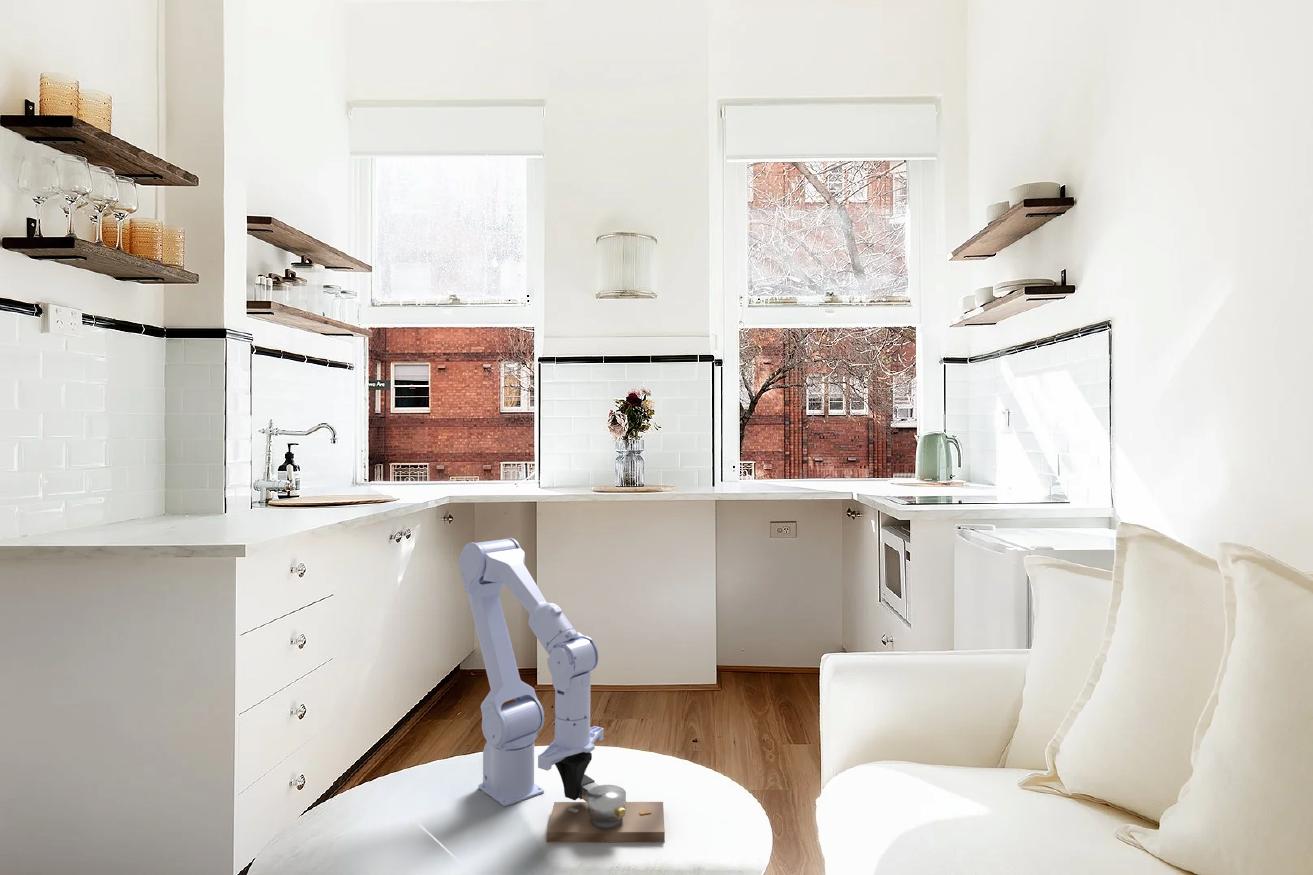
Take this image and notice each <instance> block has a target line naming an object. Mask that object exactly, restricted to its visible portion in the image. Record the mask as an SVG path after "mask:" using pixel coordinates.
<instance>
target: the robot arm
mask: <svg viewBox="0 0 1313 875" xmlns="http://www.w3.org/2000/svg"><path fill="white" fill-rule="evenodd" d="M525 553H526V552H525V551H524V550H523V549H522V548H521V546H520V544H519V542H518V541H517V540H516V539H515V538H512V537H506V538H503V539H496V540H489V541H482V542H468V543H466V544H465V545H464V546H463V548H462V551H461V553H460V556H459V558H458V563H457V564H458V567H459V571H460V575H461V579H462V583H463V587H464V591H465V593H467V598H468V603H469V606H470V611H471V614H472V619H473V623H474V626H475V630H476V635H477V639H478V643H479V646H480V651H481V655H482V659H483V663H484V668H485V671H486V676H487V679H488V684H489V687H490V688H489V689H490V690H489V692H488V694H487V695H486V696H485V698H484V700H483V701H482V702H481V704H480V710H481V718H482V719H481V720H482V721H481V730H482V735H483V736H484V739H485V740H486V742H485V744H484V747H483V750H482V783H481V782H480V783H479V784H478V786H477V788H478V789H480V790H481V791H482V792H483V793H485V794H487V795H488V796H489V797H490V798H492V799H493V800H494V801H496V802H497V803H499V804H500V805H502V806H503V807H509V806H511V805H514V804H516V803H520V802H522V801H525V800H528V799H530V798H533V797H537V796H539V795H541V794H543V793H544V792H545V789H544V788H542V787H541V786H540V785H538V784H536V783H535V740H536V739H538V735H539V734H538V732H540V731H541V729H542V728H543V726H544V725H545V711H544V707H543V706H542V703H541V702H540V701H539V699H538V696H537V694H536V691H535V688H534V687H532V686H531V685H529V684H528V683H526V682H524V681H522V679H521V677H520V672H519V668H518V665H517V661H516V658H515V657H516V656H515V652H514V649H513V645H512V640H511V637H510V632H509V629H508V626H507V622H506V621H507V620H506V618H505V614H504V610H503V607H502V606H503V605H502V603H501V602H502V601H501V599H500V594H501V591H502V589H503V588H504V587H505V586H506V587H507V588H508V589H509V591H510V593H512V594H513V596H514V597H515V598H516V600H518V602H519V603H520V605H521V606H522V607H523V608H524V609H525V610H526V612H527V613H528V614H529V618H528V624H527V625H528V626H529V628H530V629H531V631H532V632H533V634H534V635H535V637H536V638H537V640H538V642H539V643H540V644H541V646H542V648H544V651H546V653H547V655H548V656H549V657H547V659H546V660H547V663H546V664H547V668H548V670H549V672H550V674H551V678H552V679H551V681H552V682H551V684H552V685H553V686H552V688H553V689H554V739H553V741H552V742H551V743H550V744H549V745H548V747H547V748H546V749H545V750H544V751H543V752H541V753H540V754H538V755H537V768H538V769H541V770H544V771H546V772H547V771H550V770H551V769H552V766H554V765H555V767H556V769H557V770H558V771H557V772H558V773H559V776H560V778H561V781H562V786H563V791H564V792H563V793H564V797H565V798H567V799H569V800H573V801H576V800H579V798H578V797H579V792H580V787H581V783H582V779H583V776H584V774H586V771H587V768H588V766H589V765H590V763H591V761H592V759H593V755H592V751H594V750H595V749H596V748H595V747H596V746H595V744H594V743H595V742H602V741H603V740H604V735H605V734H604V730H605V729H604V728H603V727H600V726H597V725H596V726H595V725H594V726H592V727H591V687H592V686H591V678H592V676H591V674H592V673H591V671H594V670H595V669H596V668H597V667H598V666H597V665H598V663H599V651H598V648H597V646H596V643H594V640H593V639H592V638H591V637H590V636H587V635H583V634H582V633H581V632H579V631H576V629H575V628H574V626H573V625H572V624H571V622H570V621H569V619H568V618H567V617H566V615H565V614H564V613H563V610H562V608H561V607H560V606H559V605H558V604H556V603H552V602H547V601H546V599H545V597H544V596H543V594H542V592H541V590H540V588H539V587H538V585H537V583H536V581H535V580H534V579H533V576H532V575H531V574H530V572H529V570H528V568H527V567H526V564H525V563H526V562H525V560H526V554H525ZM512 700H514V701H513V702H509V701H512ZM506 702H509V703H507V704H504V703H506ZM503 704H504V705H503Z"/></svg>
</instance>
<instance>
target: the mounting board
mask: <svg viewBox="0 0 1313 875" xmlns="http://www.w3.org/2000/svg"><path fill="white" fill-rule="evenodd" d="M664 810H665V809H664V801H626V814H625V816H624V817H623V818H621V819H619V820H617V821H613V822H599V821H595V820H593V819H591V818H590V817H589V816H588V803H587V802H586V801H554V802H553V806H552V810H551V813H550V819H549V823H548V826H547V830H546V843H630V842H631V843H643V842H645V843H646V842H647V843H652V842H653V843H654V842H655V843H658V842H659V843H660V842H661V843H664V842H665V836H666V835H665V832H666V831H665V817H664V816H665V815H664V814H665V812H664Z"/></svg>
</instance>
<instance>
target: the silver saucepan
mask: <svg viewBox="0 0 1313 875" xmlns="http://www.w3.org/2000/svg"><path fill="white" fill-rule="evenodd" d="M578 800H583V801H584V802H587V803H588V816H589V817H590V818H591V819H593V820H595V821H599V822H613V821H617V820H619V819H621V818H623V817H624V816H625V814H626V802H627V792H626V790H625V788H623V787H621V786H618V785H616V784H615V785H613V784H601V785H599V784H598V783H596V781H595V780H594V779H592V778H591V777H589V776H588V775H586V773H584V776H583V779H582V783H581V787H580V792H579V797H578Z"/></svg>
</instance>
